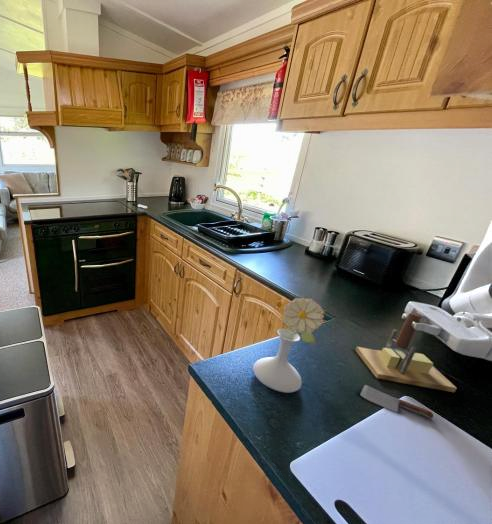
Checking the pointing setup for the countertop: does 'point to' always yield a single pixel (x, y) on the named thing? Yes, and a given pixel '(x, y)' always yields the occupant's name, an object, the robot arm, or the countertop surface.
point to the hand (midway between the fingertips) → (408, 320)
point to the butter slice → (389, 357)
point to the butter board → (403, 369)
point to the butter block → (420, 364)
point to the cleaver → (392, 402)
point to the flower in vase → (290, 345)
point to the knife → (405, 338)
